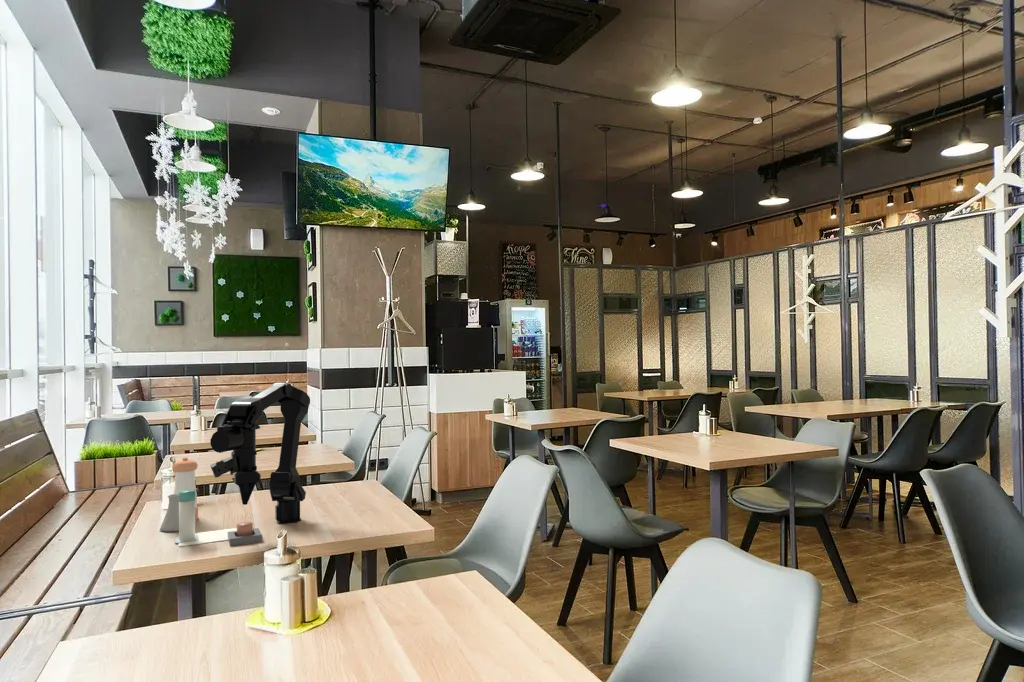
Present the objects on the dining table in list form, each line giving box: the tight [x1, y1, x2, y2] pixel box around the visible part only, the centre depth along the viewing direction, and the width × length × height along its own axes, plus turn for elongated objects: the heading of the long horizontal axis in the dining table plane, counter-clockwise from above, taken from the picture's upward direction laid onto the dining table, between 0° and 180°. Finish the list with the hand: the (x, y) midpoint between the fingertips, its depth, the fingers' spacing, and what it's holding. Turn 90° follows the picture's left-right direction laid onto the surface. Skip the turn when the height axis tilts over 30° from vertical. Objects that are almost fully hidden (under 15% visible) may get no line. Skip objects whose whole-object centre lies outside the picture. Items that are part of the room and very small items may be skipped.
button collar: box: [227, 527, 263, 547], centre depth 178 cm, size 8×8×2 cm
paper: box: [174, 527, 237, 548], centre depth 181 cm, size 17×12×1 cm
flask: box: [159, 493, 179, 532], centre depth 190 cm, size 7×7×10 cm
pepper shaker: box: [171, 457, 199, 521], centre depth 201 cm, size 7×7×19 cm
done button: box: [236, 521, 254, 537], centre depth 178 cm, size 4×4×3 cm
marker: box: [178, 489, 197, 541], centre depth 178 cm, size 4×4×13 cm
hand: (244, 504), depth 178 cm, fingers closed
